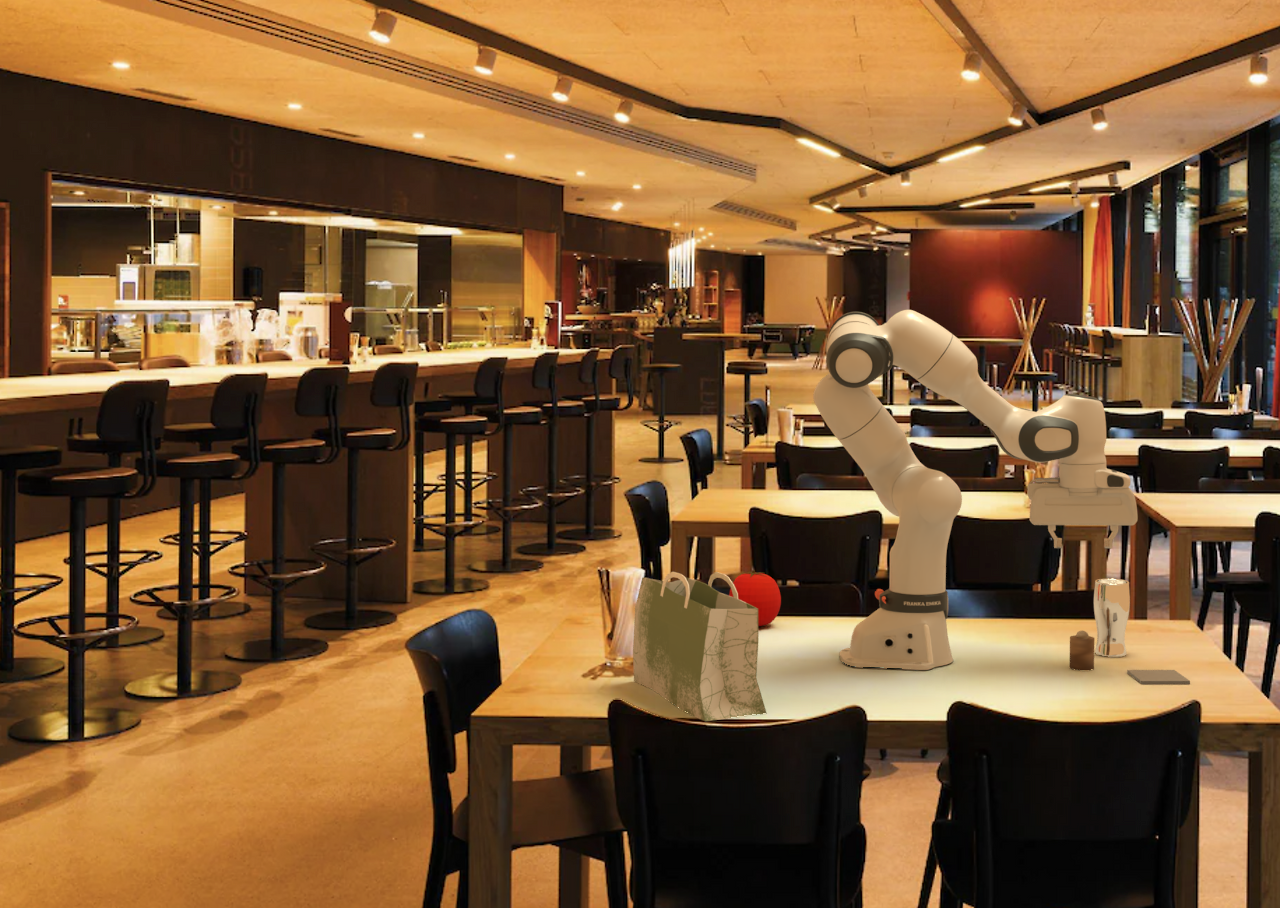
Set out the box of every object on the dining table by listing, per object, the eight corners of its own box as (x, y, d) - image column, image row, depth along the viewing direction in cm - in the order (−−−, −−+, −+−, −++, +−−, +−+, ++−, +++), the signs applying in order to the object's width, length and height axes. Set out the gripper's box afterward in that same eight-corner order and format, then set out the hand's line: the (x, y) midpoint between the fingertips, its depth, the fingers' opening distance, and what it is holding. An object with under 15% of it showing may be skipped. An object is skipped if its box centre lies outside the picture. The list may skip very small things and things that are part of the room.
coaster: (1141, 684, 282) (1141, 681, 282) (1127, 673, 291) (1127, 669, 291) (1189, 684, 281) (1190, 680, 281) (1174, 672, 290) (1174, 669, 290)
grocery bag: (773, 713, 264) (773, 582, 261) (701, 722, 258) (700, 588, 256) (695, 674, 293) (695, 556, 291) (629, 681, 287) (628, 561, 285)
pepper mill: (1072, 670, 293) (1073, 633, 292) (1066, 665, 298) (1067, 628, 297) (1096, 670, 293) (1097, 633, 292) (1090, 665, 298) (1090, 628, 297)
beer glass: (1130, 658, 303) (1132, 584, 302) (1094, 657, 304) (1095, 583, 303) (1126, 651, 310) (1128, 578, 308) (1091, 649, 311) (1092, 577, 310)
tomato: (746, 619, 346) (746, 564, 345) (790, 624, 339) (790, 569, 338) (717, 628, 336) (716, 572, 335) (762, 634, 329) (762, 577, 328)
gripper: (1027, 479, 293) (1028, 549, 294) (1138, 478, 288) (1138, 550, 289) (1027, 475, 299) (1027, 545, 300) (1135, 475, 294) (1135, 545, 295)
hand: (1083, 547), depth 294 cm, fingers open, 8 cm apart
